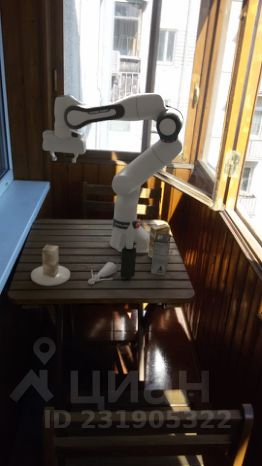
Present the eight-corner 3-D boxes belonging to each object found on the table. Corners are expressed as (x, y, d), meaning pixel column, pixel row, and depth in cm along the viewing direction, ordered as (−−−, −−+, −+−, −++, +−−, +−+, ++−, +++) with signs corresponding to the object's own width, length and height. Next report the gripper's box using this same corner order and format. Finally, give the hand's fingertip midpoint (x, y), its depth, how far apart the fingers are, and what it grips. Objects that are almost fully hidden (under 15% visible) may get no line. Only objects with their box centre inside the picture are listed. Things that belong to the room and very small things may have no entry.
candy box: (152, 259, 183) (156, 229, 177) (147, 255, 186) (150, 226, 180) (167, 255, 188) (170, 226, 182) (161, 252, 191) (165, 223, 185)
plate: (74, 269, 169) (74, 267, 168) (63, 288, 154) (63, 286, 154) (39, 264, 170) (39, 262, 170) (24, 282, 156) (24, 280, 155)
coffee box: (153, 264, 178) (156, 232, 172) (167, 266, 177) (171, 234, 171) (150, 273, 170) (153, 240, 164) (165, 275, 169) (168, 242, 163)
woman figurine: (126, 264, 167) (100, 283, 154) (125, 273, 169) (100, 292, 156) (104, 256, 173) (77, 273, 159) (104, 264, 175) (78, 282, 161)
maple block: (58, 271, 164) (58, 246, 159) (54, 277, 159) (54, 251, 155) (47, 270, 164) (46, 244, 160) (42, 275, 160) (42, 249, 155)
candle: (129, 279, 164) (133, 224, 154) (119, 276, 166) (122, 221, 156) (135, 274, 168) (139, 221, 158) (125, 271, 170) (128, 218, 160)
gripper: (40, 130, 177) (40, 160, 183) (83, 134, 175) (83, 165, 180) (44, 128, 183) (45, 158, 188) (87, 132, 181) (86, 162, 186)
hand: (64, 161), depth 184 cm, fingers open, 8 cm apart
